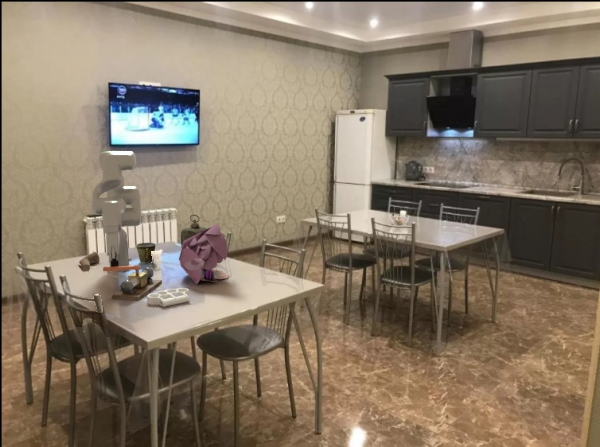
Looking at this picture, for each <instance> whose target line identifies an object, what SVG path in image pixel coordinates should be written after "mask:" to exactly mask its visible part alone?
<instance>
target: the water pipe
mask: <svg viewBox="0 0 600 447" xmlns="http://www.w3.org/2000/svg"><path fill="white" fill-rule="evenodd" d="M154 274H155V273H154V270H153V268H151V267H145V268H143V269H142V270H141V272H140V269H139V270H134V272H132V273H131V274H129V275H127V279H126V280H123V281H122V282H121V283H120V285H119V290H121V291H122V294H135V293H136V292H137V290H136V289H133V288H134V287H139V288H141V287H143V286H144V285H146V284H147V283H151V282H152V280H153V277H154Z"/></svg>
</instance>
